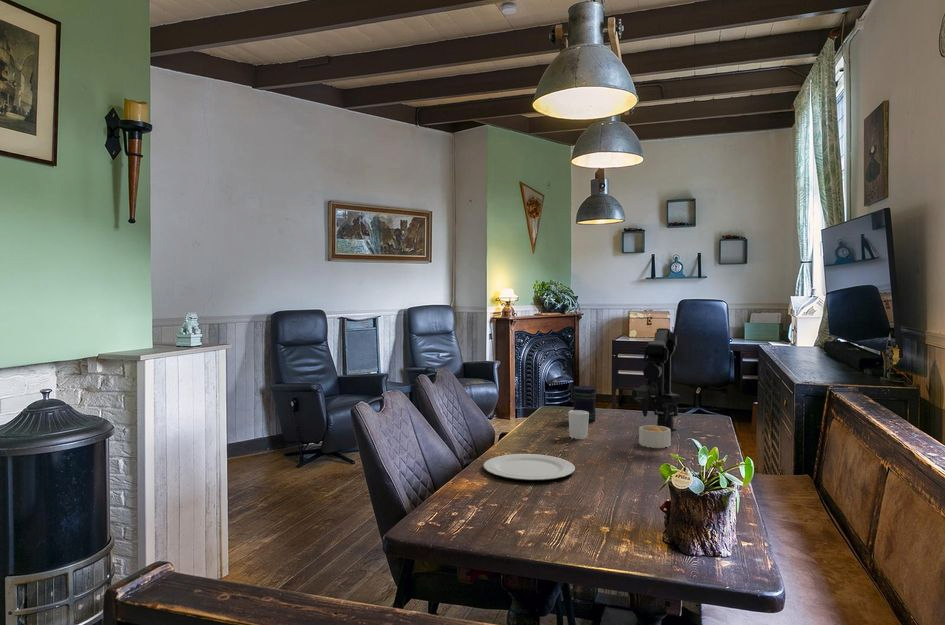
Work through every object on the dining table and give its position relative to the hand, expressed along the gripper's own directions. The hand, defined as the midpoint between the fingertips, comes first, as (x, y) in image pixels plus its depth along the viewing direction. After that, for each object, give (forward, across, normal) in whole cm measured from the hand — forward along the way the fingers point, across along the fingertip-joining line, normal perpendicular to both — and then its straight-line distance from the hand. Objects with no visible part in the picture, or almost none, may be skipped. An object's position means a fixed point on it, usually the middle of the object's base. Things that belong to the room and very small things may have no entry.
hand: (654, 418), depth 234 cm
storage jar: (+10, -45, +8) cm, 47 cm away
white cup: (+10, -24, -16) cm, 30 cm away
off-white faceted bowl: (+10, 0, 0) cm, 10 cm away
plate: (+10, 0, -61) cm, 62 cm away
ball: (+6, 0, 0) cm, 6 cm away
